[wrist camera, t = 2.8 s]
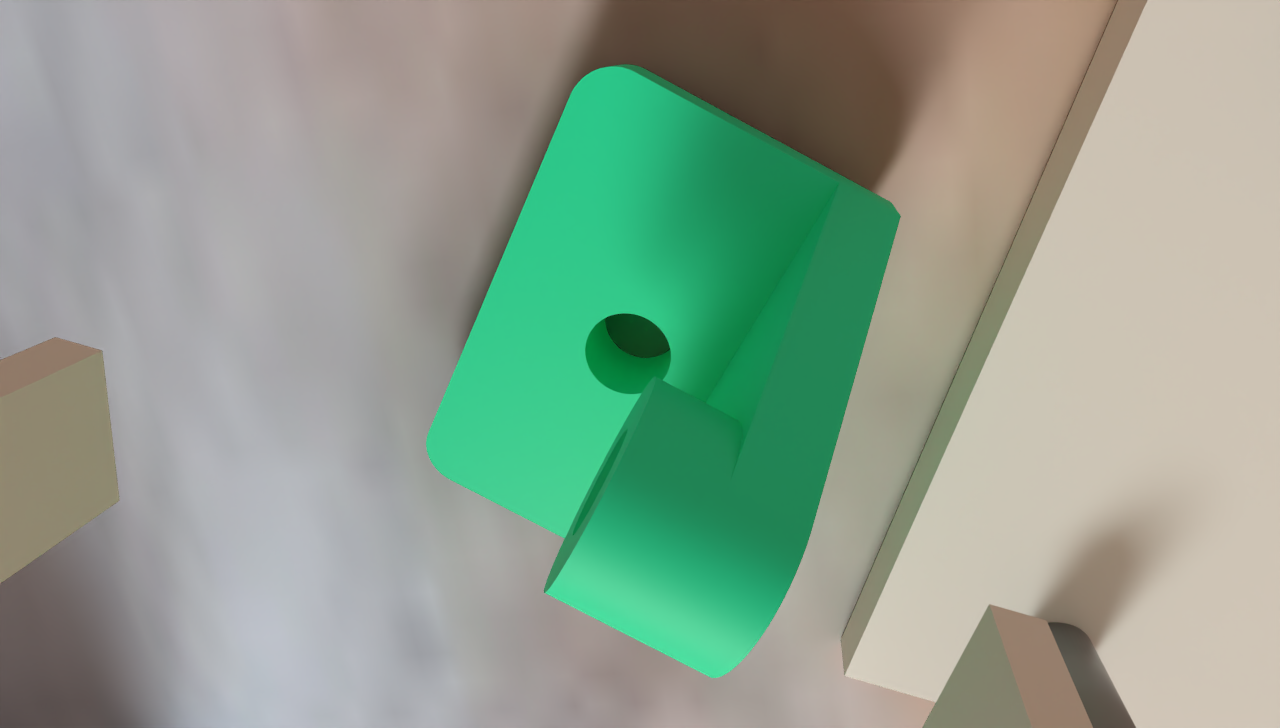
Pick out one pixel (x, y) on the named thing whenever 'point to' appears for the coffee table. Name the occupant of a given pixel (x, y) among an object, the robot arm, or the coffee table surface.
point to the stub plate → (1119, 401)
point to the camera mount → (669, 362)
